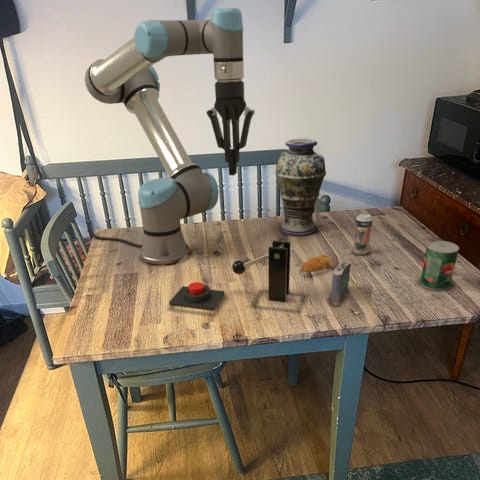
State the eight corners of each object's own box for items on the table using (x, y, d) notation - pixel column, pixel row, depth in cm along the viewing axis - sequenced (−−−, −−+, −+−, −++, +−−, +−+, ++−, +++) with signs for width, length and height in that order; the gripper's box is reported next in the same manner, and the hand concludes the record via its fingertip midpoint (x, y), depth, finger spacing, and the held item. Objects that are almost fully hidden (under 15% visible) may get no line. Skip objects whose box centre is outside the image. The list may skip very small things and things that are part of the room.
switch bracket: (252, 306, 120) (251, 249, 111) (261, 290, 127) (260, 236, 119) (298, 312, 116) (300, 254, 108) (304, 295, 124) (307, 239, 115)
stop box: (169, 309, 120) (168, 295, 118) (183, 293, 127) (182, 280, 125) (213, 315, 117) (212, 301, 115) (224, 298, 124) (224, 284, 122)
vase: (310, 242, 155) (315, 148, 139) (265, 233, 163) (265, 143, 148) (330, 226, 167) (336, 138, 151) (287, 219, 175) (289, 134, 159)
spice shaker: (351, 254, 146) (355, 217, 139) (354, 248, 149) (357, 212, 143) (366, 256, 144) (371, 219, 138) (369, 250, 148) (373, 214, 141)
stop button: (186, 294, 119) (186, 288, 118) (192, 287, 122) (191, 281, 121) (201, 296, 118) (200, 290, 117) (206, 288, 121) (206, 283, 120)
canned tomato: (451, 291, 123) (460, 253, 117) (420, 288, 125) (427, 250, 119) (449, 278, 129) (457, 241, 124) (419, 276, 131) (426, 239, 126)
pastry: (311, 278, 132) (312, 266, 130) (295, 271, 137) (295, 259, 135) (333, 269, 137) (334, 257, 135) (317, 262, 142) (317, 250, 140)
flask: (338, 306, 118) (341, 268, 113) (327, 304, 119) (329, 266, 114) (349, 291, 125) (352, 254, 119) (338, 289, 126) (341, 252, 121)
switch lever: (234, 278, 120) (227, 266, 119) (238, 272, 123) (232, 260, 122) (286, 258, 113) (279, 246, 112) (289, 253, 116) (283, 240, 115)
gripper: (200, 82, 117) (206, 176, 130) (249, 81, 114) (251, 178, 126) (210, 79, 123) (215, 169, 136) (257, 79, 120) (258, 171, 132)
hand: (232, 173), depth 131 cm, fingers closed
